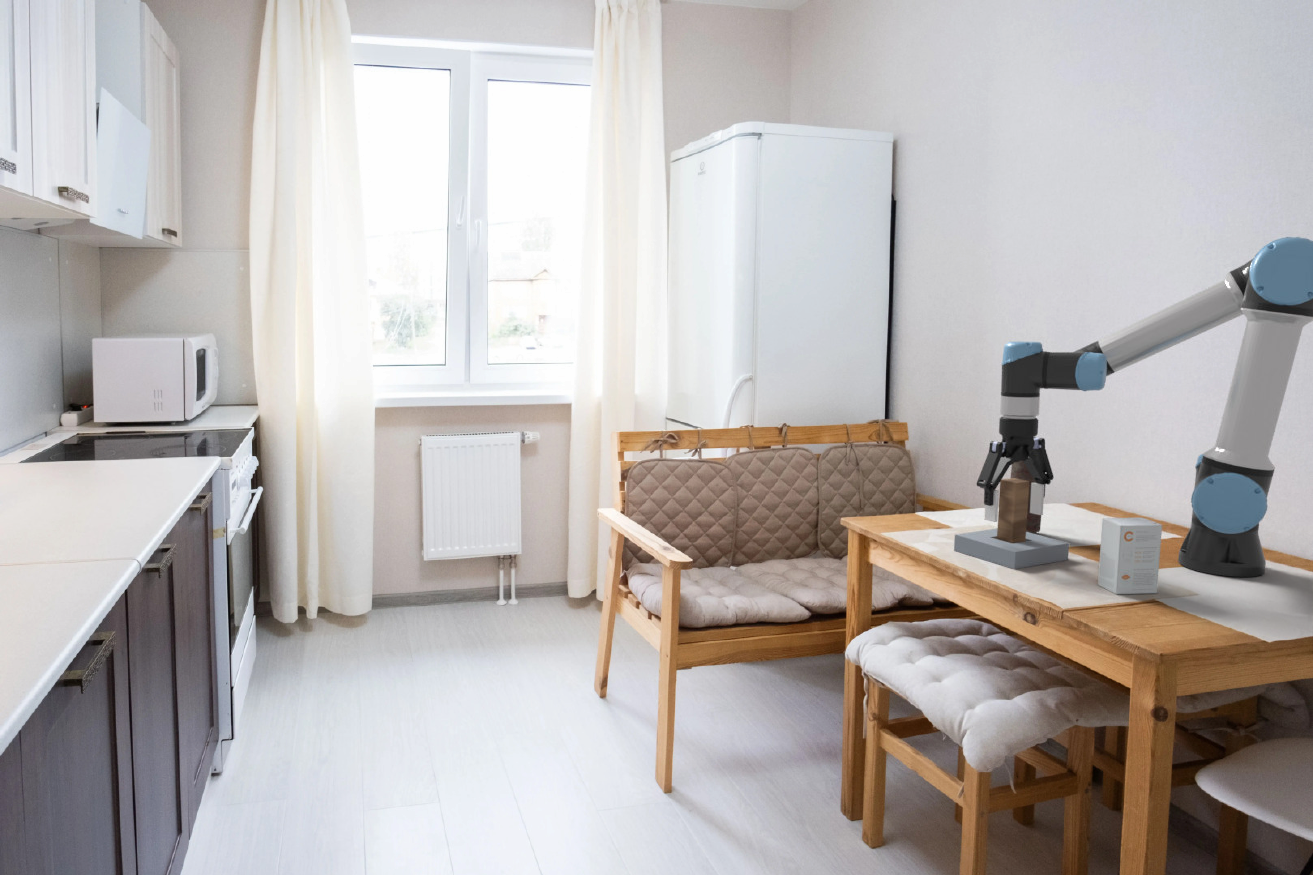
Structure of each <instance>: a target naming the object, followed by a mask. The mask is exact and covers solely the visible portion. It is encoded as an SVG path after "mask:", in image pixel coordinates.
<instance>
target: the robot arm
mask: <svg viewBox="0 0 1313 875" xmlns="http://www.w3.org/2000/svg"><path fill="white" fill-rule="evenodd" d="M1241 316H1244V317H1245V318H1246V320H1247V321H1246V323H1245V324H1246V325H1245V328H1244V332H1243V337H1242V340H1241V344H1240V348H1239V351H1238V354H1237V359H1236V364H1235V367H1234V371H1233V374H1232V375H1233V376H1232V379H1231V382H1230V387H1229V389H1228V390H1229V391H1228V394H1227V397H1226V403H1225V406H1224V410H1223V413H1222V417H1221V422H1220V426H1219V428H1218V433H1217V437H1216V441H1215V444H1214V446H1213V447H1211V448H1210V449H1209V450H1206V451H1205V452H1203V453H1201V454H1199V455H1198V456H1197V460H1196V464H1195V466H1194V467H1195V479H1194V488H1193V491H1192V494H1191V497H1190V498H1191V499H1190V503H1191V508H1192V512H1191V524H1190V527H1189V530H1188V532H1187V534H1186V535H1185V538H1184V540H1183V542H1182V543H1181V546H1180V548H1179V551H1178V558H1177V559H1178V561H1177V563H1179V565H1181V566H1183V567H1185V568H1188V569H1190V570H1194V571H1196V572H1201V573H1206V574H1211V575H1217V576H1222V577H1223V576H1225V577H1235V578H1236V577H1239V578H1245V577H1246V578H1249V577H1250V578H1251V577H1259V576H1263V575H1264V574H1265V573H1266V566H1267V564H1266V563H1267V562H1266V558H1265V554H1264V550H1263V547H1262V543H1261V538H1260V536H1259V528H1260V522H1261V521H1262V520H1263V519H1264V518H1265V515H1266V513H1267V511H1268V496H1269V491H1270V488H1271V484H1272V480H1273V476H1274V473H1275V469H1276V466H1275V465H1274V464H1273V462H1272V461H1271V460H1270V458H1269V455H1270V450H1271V446H1272V443H1273V439H1274V436H1275V432H1276V428H1277V424H1278V421H1279V417H1280V413H1281V410H1282V405H1283V404H1284V398H1285V395H1286V391H1287V388H1288V383H1289V379H1290V377H1291V376H1290V375H1291V372H1292V370H1293V365H1294V361H1295V359H1296V353H1297V351H1298V346H1299V343H1300V339H1301V336H1302V332H1303V328H1304V327H1305V326H1306V325H1308V324H1310V323H1311V322H1313V240H1311V239H1309V238H1306V237H1305V238H1303V237H1300V236H1295V237H1294V236H1285V237H1281V238H1278V239H1275V240H1272V241H1270V242H1269V243H1268V244H1265V245H1264V246H1263V247H1262V248H1261V249H1259V250H1258V251H1257V253H1256V254H1255V255H1254V257H1253V258H1252V259H1251V260H1249V261H1248V262H1246V263H1244V264H1242V265H1241V266H1238V267H1237V268H1235V269H1233V270H1231V271H1229V272H1227V274H1226V276H1225V278H1224V280H1222V281H1220V282H1218V283H1216V284H1213V285H1212V286H1211V285H1210V287H1208V288H1205V289H1202V290H1201V291H1198V292H1197V293H1194V294H1193V295H1191V296H1189V297H1185V298H1184V299H1182V300H1180V301H1178V302H1176V303H1173V304H1172V305H1169V306H1167V307H1165V308H1163V309H1160V310H1159V311H1156V312H1154V313H1152V314H1150V315H1149V316H1147V317H1144V318H1142V319H1141V320H1137V321H1136V322H1134V323H1132V324H1130V325H1127V326H1125V327H1124V328H1123V327H1122V329H1118V330H1117V331H1115V332H1113V333H1110V334H1109V335H1106V336H1104V337H1103V338H1100V339H1098V340H1097V341H1094V342H1092V343H1090V344H1088V345H1086V346H1084V347H1081V348H1080V349H1076V350H1075V351H1071V352H1070V351H1060V352H1059V351H1056V352H1053V351H1052V352H1051V351H1045V350H1044V349H1043V343H1042V342H1040V341H1009V342H1007V343H1006V344H1004V346H1003V353H1002V354H1003V355H1002V362H1001V382H1000V383H1001V385H1000V386H1001V388H1000V389H1001V390H1000V410H999V413H1000V415H1002V416H1001V417H1000V418H999V420H998V422H999V423H998V424H999V425H998V426H999V427H998V433H999V435H1001V441H995V440H991V441H990V443H989V448H988V453H987V456H986V458H985V460H984V462H983V466H982V469H981V470H980V473H979V476H978V479H977V480H976V486H977V487H979V488H980V489H983V490H984V491H983V493H984V494H983V504H984V520H985V521H989V522H994V523H998V512H999V495H1000V489H997V488H998V486H999V485H1000V481H1001V480H1002V479H1004V478H1003V477H1004V476H1005V475H1006V473H1007V472H1008V470H1009V468H1010V466H1012V464H1013V463H1014V462H1019V461H1023V462H1024V464H1025V465H1026V467H1027V469H1028V471H1029V472H1030V474H1031V476H1032V477H1033V479H1034V481H1035V482H1036V483H1031V501H1030V513H1033V514H1037V515H1041V516H1043V515H1044V500H1045V495H1046V485H1048V486H1049V485H1051V482H1052V481H1053V480H1054V474H1053V470H1052V467H1051V463H1050V460H1049V457H1048V453H1047V449H1046V440H1045V438H1044V437H1036V436H1037V435H1038V433H1039V432H1038V431H1039V419H1038V418H1037V417H1038V416H1039V415H1040V403H1041V402H1040V401H1041V400H1040V398H1041V397H1040V395H1041V393H1040V392H1041V389H1045V390H1049V389H1051V390H1067V391H1082V392H1087V391H1101V390H1103V389H1104V388H1105V386H1106V380H1107V377H1108V376H1111V375H1112V374H1114V373H1117V372H1119V371H1122V370H1123V369H1125V368H1127V367H1130V366H1132V365H1134V364H1137V363H1139V362H1142V361H1143V360H1145V359H1148V358H1150V357H1153V356H1154V355H1156V354H1159V353H1160V352H1161V353H1162V352H1163V351H1166V350H1167V349H1170V348H1172V347H1174V346H1177V345H1179V344H1180V343H1183V342H1185V341H1187V340H1190V339H1192V338H1194V337H1196V336H1199V335H1200V334H1203V333H1206V332H1207V331H1209V330H1212V329H1214V328H1216V327H1219V326H1221V325H1223V324H1225V323H1227V322H1229V321H1232V320H1234V319H1236V318H1238V317H1241ZM1045 449H1046V450H1045Z"/></svg>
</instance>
